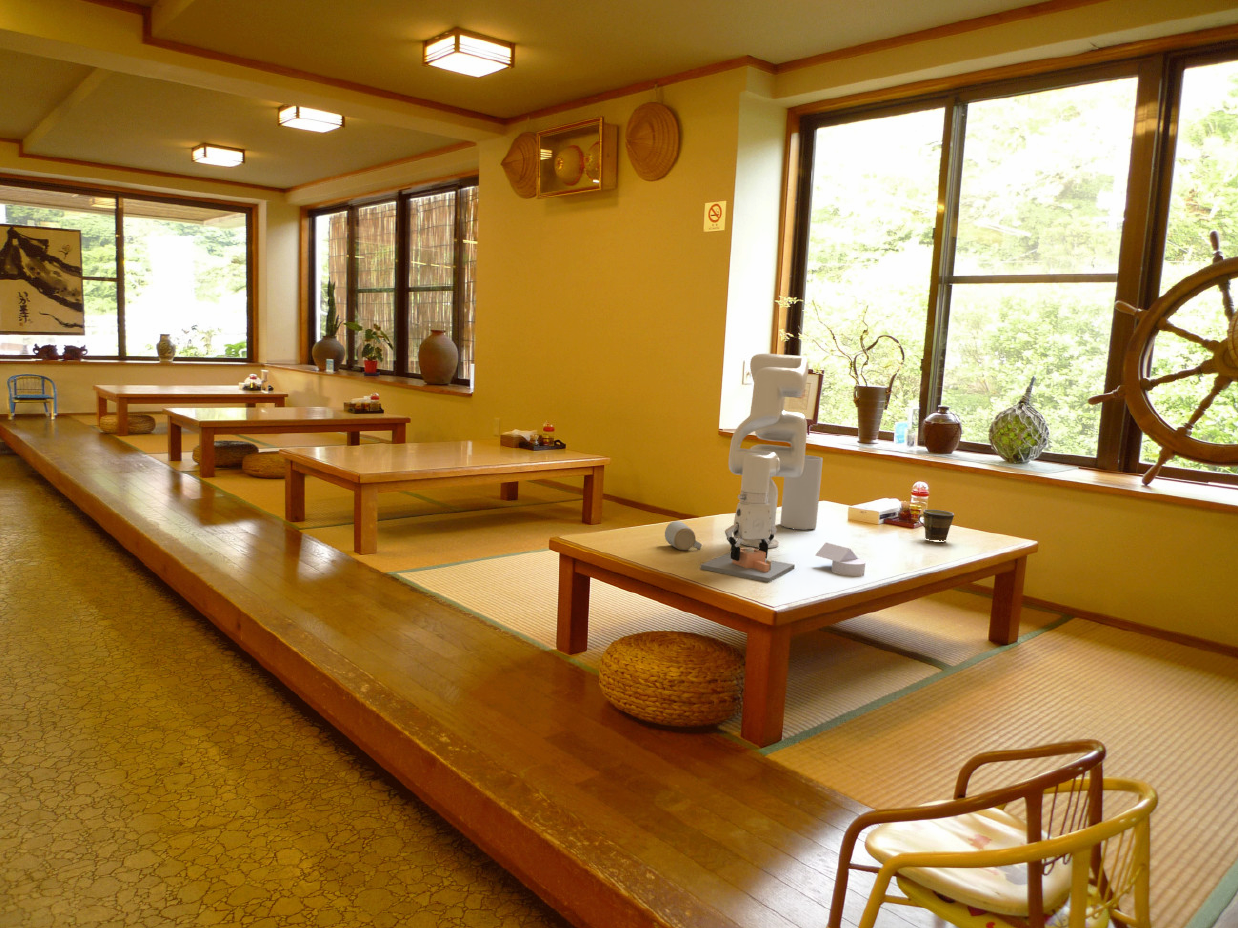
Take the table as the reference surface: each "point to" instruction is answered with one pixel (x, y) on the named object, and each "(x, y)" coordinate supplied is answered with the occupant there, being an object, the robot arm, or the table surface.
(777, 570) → the base plate
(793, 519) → the cylinder vase
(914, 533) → the table surface
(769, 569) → the dowel pin
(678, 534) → the ceramic mug
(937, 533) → the ceramic cup
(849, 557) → the wedge on round base
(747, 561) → the square frame with post
